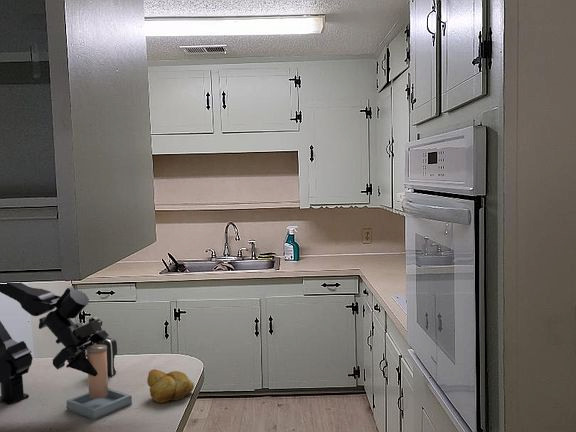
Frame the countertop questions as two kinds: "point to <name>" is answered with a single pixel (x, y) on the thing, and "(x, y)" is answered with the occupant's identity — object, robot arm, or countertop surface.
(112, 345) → the battery charger
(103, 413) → the tray
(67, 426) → the countertop surface
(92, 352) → the jar
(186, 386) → the bread roll
